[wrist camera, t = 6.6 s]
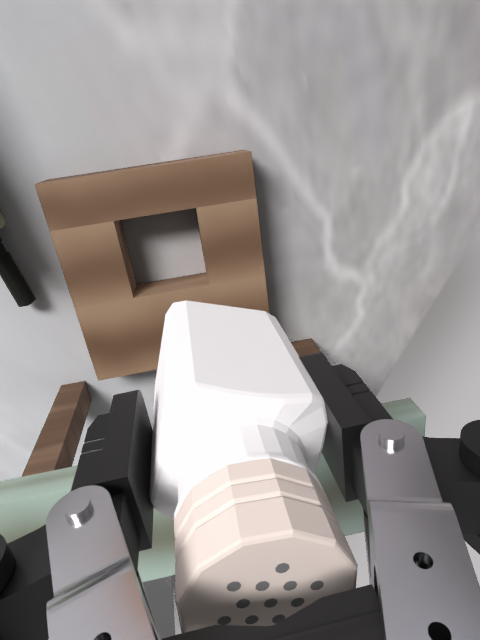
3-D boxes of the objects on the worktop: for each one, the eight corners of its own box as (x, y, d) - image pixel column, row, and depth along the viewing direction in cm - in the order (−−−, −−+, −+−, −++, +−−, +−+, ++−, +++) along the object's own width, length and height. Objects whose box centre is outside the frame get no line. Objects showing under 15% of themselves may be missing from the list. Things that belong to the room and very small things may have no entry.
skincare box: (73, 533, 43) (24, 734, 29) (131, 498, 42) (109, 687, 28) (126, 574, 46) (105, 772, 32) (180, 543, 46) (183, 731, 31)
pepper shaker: (167, 291, 15) (169, 511, 6) (277, 307, 16) (414, 517, 7) (153, 390, 16) (136, 681, 7) (254, 399, 17) (344, 668, 8)
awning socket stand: (-20, 189, 29) (-247, 258, 13) (304, 140, 31) (443, 150, 15) (64, 410, 37) (-17, 618, 21) (318, 361, 39) (418, 519, 23)
